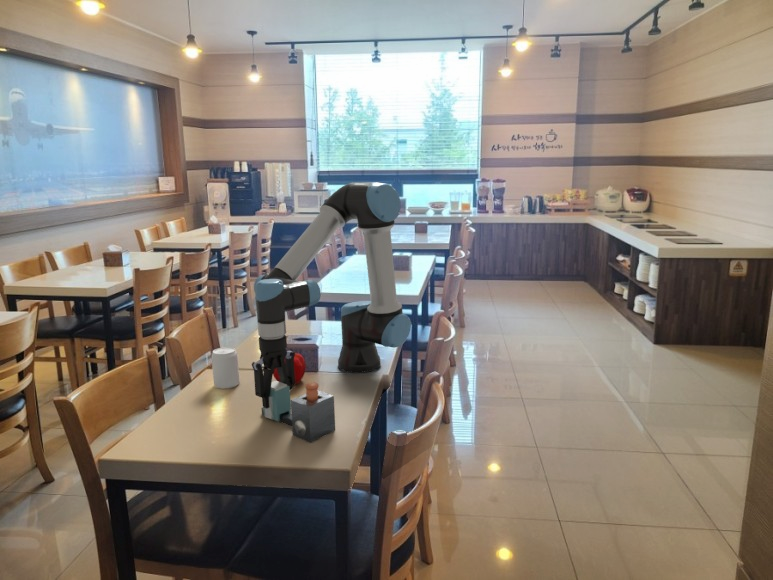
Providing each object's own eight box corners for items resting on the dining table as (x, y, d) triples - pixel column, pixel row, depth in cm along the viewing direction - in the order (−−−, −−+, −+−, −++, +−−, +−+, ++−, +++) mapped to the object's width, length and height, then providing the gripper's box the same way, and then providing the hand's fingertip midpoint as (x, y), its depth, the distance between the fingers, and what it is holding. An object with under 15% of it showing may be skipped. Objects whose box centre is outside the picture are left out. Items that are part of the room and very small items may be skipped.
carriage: (277, 410, 163) (275, 379, 161) (291, 415, 159) (289, 384, 157) (263, 415, 159) (261, 384, 157) (277, 421, 156) (275, 389, 154)
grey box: (317, 423, 156) (315, 389, 154) (335, 430, 151) (333, 395, 149) (291, 435, 149) (289, 400, 146) (309, 443, 144) (307, 407, 142)
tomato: (285, 391, 178) (283, 360, 176) (265, 380, 188) (263, 351, 186) (315, 382, 186) (313, 352, 183) (294, 372, 195) (292, 344, 193)
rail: (268, 411, 164) (268, 405, 163) (308, 427, 153) (308, 420, 153) (261, 414, 162) (261, 407, 162) (301, 430, 151) (301, 423, 151)
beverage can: (244, 383, 186) (242, 348, 183) (227, 391, 179) (224, 356, 176) (226, 379, 190) (223, 345, 187) (208, 387, 183) (205, 352, 180)
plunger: (313, 401, 151) (312, 381, 150) (321, 404, 149) (320, 384, 147) (303, 405, 148) (302, 385, 147) (312, 408, 146) (311, 388, 145)
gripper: (288, 325, 163) (292, 400, 168) (236, 341, 150) (243, 421, 155) (306, 330, 159) (310, 406, 164) (254, 346, 145) (260, 429, 150)
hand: (277, 413), depth 159 cm, fingers closed on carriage, 5 cm apart
